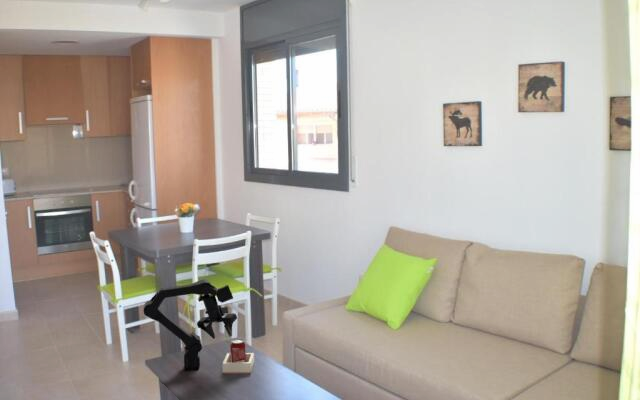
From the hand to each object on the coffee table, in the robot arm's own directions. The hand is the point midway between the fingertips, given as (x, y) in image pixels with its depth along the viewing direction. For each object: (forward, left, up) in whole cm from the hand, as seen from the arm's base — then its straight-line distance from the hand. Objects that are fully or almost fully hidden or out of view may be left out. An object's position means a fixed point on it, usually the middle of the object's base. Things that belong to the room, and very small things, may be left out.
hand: (222, 337), depth 268 cm
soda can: (+6, -6, -12) cm, 15 cm away
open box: (+7, -6, -13) cm, 15 cm away
